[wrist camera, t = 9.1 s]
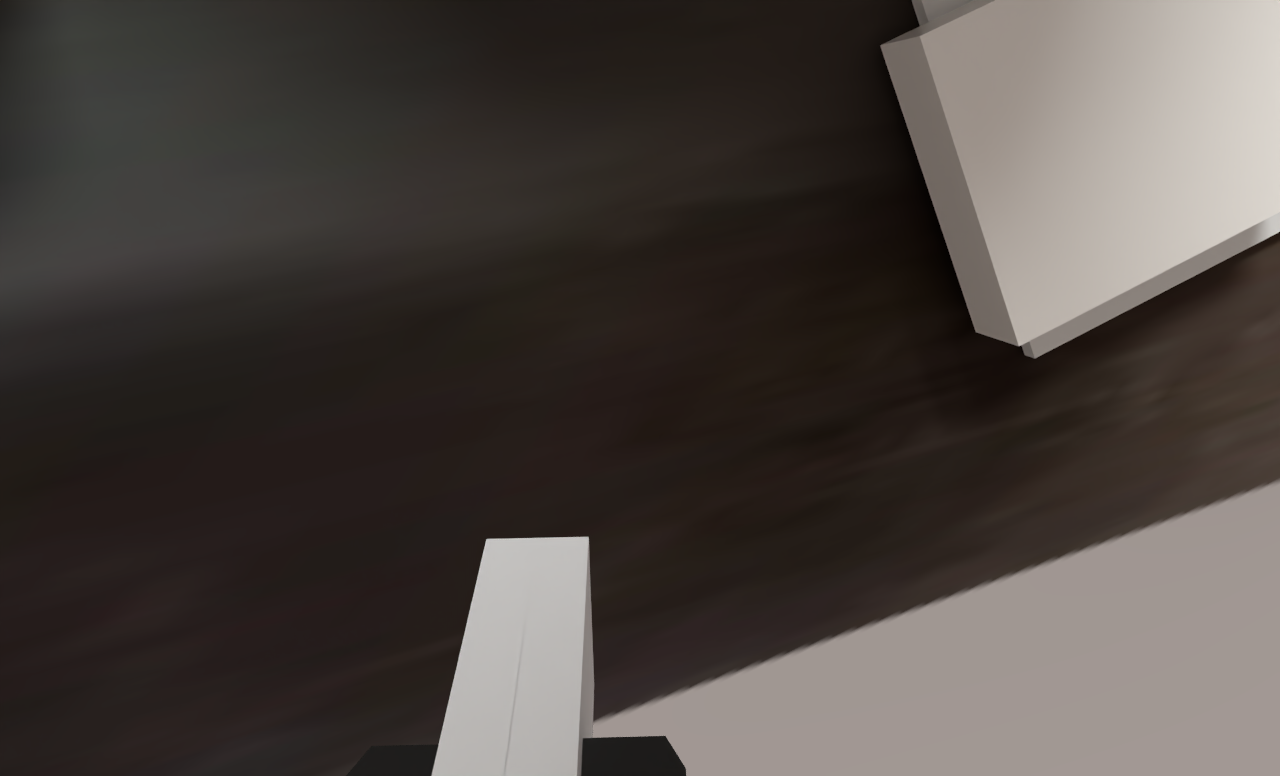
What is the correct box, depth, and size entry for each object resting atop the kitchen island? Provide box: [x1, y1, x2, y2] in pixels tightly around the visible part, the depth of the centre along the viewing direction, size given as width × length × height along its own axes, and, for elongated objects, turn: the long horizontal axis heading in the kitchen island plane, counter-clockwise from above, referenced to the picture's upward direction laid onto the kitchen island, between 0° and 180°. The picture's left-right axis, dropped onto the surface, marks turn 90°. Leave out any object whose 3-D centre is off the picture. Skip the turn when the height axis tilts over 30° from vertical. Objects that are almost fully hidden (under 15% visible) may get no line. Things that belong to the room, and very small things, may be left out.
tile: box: [880, 0, 1280, 346], centre depth 31 cm, size 3×10×12 cm
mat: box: [912, 0, 1280, 358], centre depth 32 cm, size 16×14×1 cm
